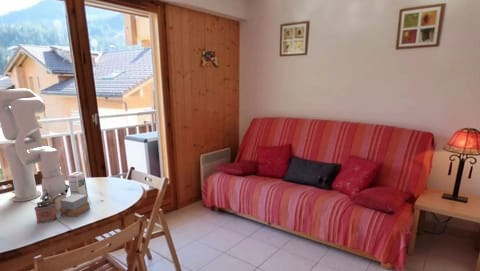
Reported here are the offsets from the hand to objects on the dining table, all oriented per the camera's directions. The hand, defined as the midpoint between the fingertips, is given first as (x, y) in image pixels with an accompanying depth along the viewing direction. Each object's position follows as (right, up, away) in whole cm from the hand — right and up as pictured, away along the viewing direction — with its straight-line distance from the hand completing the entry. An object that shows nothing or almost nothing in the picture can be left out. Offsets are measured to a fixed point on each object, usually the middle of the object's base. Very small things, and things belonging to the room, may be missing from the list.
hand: (57, 205), depth 144 cm
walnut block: (+12, -2, -5) cm, 13 cm away
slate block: (+12, +2, -5) cm, 13 cm away
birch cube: (0, -1, 0) cm, 1 cm away
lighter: (+3, -4, -13) cm, 14 cm away
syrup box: (+5, +1, +11) cm, 12 cm away
